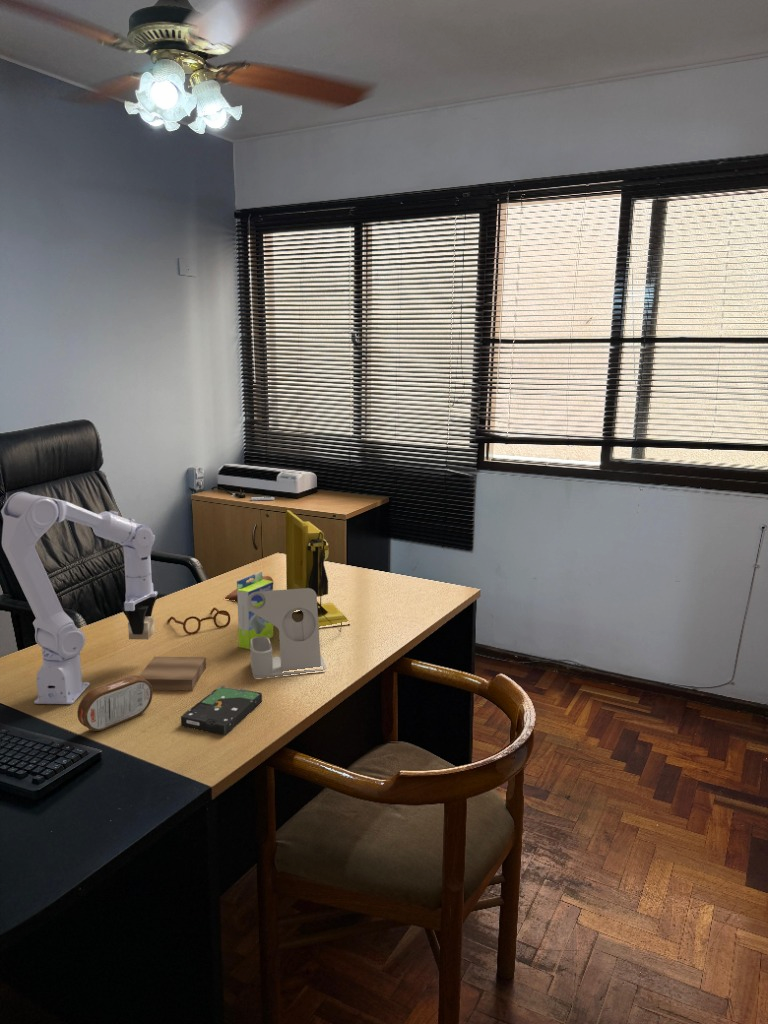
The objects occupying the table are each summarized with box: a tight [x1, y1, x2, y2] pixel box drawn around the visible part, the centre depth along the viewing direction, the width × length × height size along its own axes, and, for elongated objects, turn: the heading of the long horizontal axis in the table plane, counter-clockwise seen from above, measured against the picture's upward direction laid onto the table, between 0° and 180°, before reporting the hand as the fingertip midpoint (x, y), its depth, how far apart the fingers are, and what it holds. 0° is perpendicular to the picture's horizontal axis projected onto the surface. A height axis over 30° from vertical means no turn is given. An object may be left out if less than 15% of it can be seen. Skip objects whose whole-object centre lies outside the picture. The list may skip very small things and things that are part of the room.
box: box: [236, 571, 274, 650], centre depth 179 cm, size 10×4×17 cm, turn 152°
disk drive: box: [180, 685, 263, 736], centre depth 144 cm, size 10×3×15 cm
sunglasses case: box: [224, 575, 274, 602], centre depth 219 cm, size 18×7×7 cm
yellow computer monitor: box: [285, 509, 349, 633], centre depth 194 cm, size 31×14×30 cm, turn 22°
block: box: [127, 615, 155, 641], centre depth 165 cm, size 4×4×4 cm
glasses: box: [166, 607, 231, 635], centre depth 192 cm, size 13×13×5 cm
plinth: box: [139, 656, 207, 691], centre depth 159 cm, size 12×12×2 cm
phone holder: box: [247, 588, 328, 679], centre depth 165 cm, size 17×10×18 cm, turn 105°
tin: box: [76, 674, 154, 732], centre depth 139 cm, size 15×3×8 cm, turn 141°
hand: (141, 629), depth 165 cm, fingers closed on block, 4 cm apart
